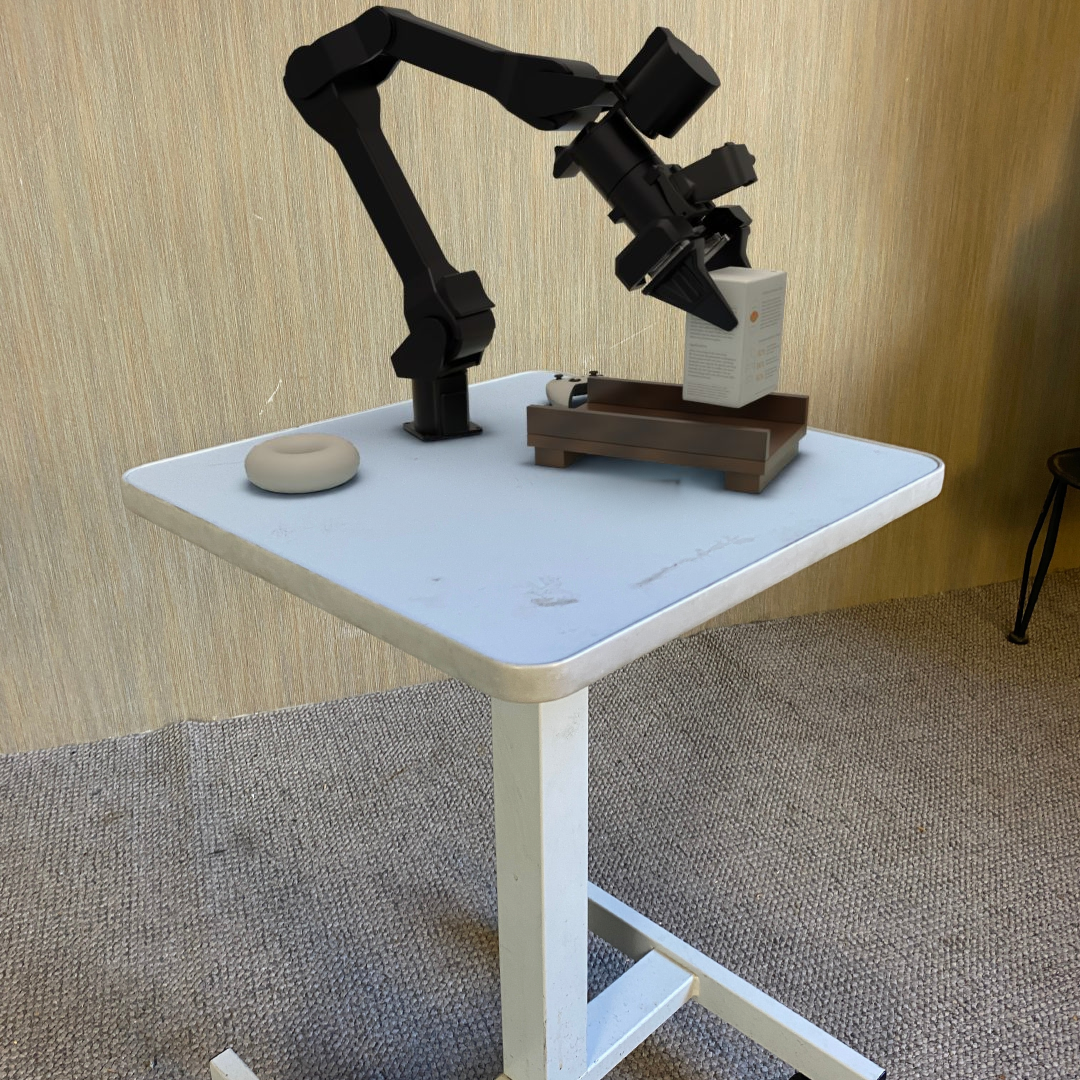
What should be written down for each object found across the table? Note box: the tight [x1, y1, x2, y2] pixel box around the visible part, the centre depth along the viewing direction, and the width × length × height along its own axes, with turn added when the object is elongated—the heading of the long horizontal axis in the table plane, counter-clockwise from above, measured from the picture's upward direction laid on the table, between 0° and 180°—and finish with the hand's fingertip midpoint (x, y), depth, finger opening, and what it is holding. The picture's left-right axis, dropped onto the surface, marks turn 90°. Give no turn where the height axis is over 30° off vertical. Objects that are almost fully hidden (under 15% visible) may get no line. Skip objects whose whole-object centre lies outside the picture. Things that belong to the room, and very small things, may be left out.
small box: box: [682, 267, 788, 408], centre depth 90 cm, size 8×6×10 cm
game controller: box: [545, 370, 606, 409], centre depth 117 cm, size 10×5×6 cm
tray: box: [525, 376, 810, 495], centre depth 96 cm, size 22×14×6 cm, turn 63°
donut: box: [243, 432, 361, 494], centre depth 92 cm, size 10×4×10 cm
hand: (750, 320), depth 88 cm, fingers closed on small box, 8 cm apart
